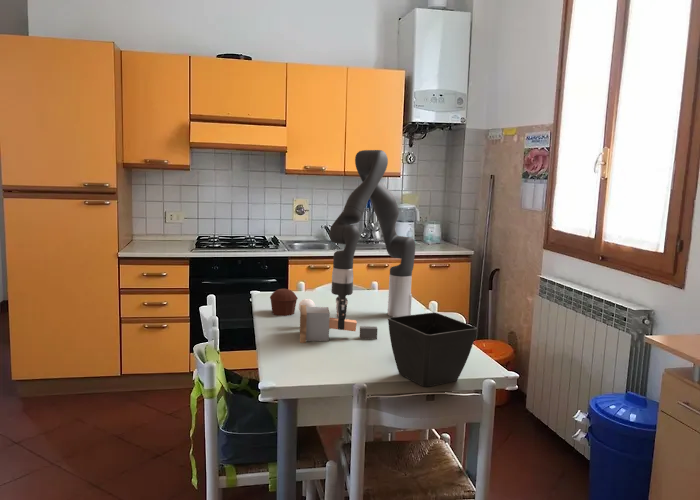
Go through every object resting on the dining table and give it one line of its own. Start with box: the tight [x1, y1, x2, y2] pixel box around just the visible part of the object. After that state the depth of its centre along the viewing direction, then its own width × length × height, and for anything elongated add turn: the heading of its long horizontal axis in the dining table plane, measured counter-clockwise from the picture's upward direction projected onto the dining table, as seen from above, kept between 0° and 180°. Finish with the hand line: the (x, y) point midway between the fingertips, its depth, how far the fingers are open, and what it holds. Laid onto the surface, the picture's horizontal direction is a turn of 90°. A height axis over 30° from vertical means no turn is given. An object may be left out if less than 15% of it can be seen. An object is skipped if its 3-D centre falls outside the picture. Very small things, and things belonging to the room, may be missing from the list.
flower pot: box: [387, 312, 478, 388], centre depth 173 cm, size 19×19×17 cm
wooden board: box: [299, 305, 307, 344], centre depth 209 cm, size 2×14×10 cm, turn 6°
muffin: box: [269, 288, 298, 317], centre depth 242 cm, size 12×11×10 cm
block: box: [306, 306, 331, 342], centre depth 209 cm, size 8×9×10 cm
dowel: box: [329, 316, 358, 332], centre depth 210 cm, size 16×3×3 cm, turn 95°
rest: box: [359, 325, 378, 340], centre depth 212 cm, size 6×3×4 cm, turn 95°
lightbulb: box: [298, 298, 316, 311], centre depth 222 cm, size 6×6×11 cm
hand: (340, 327), depth 210 cm, fingers closed on dowel, 3 cm apart
